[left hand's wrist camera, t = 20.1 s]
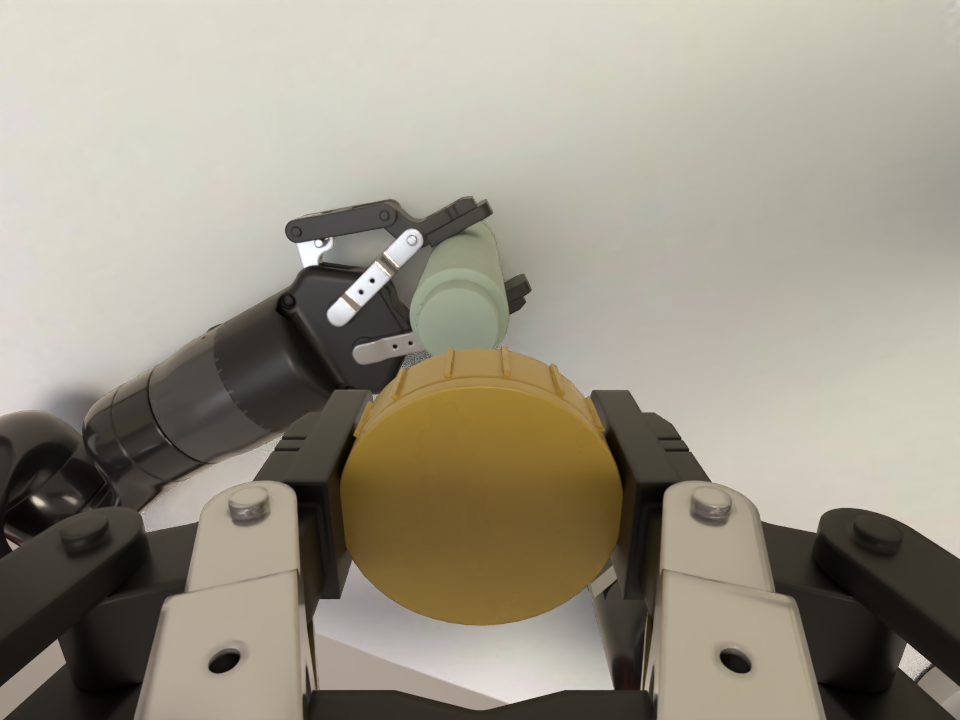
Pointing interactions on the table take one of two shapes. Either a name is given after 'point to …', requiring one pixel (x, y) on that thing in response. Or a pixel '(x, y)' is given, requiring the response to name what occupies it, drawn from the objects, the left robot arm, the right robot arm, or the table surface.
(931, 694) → the bust sculpture
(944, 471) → the table surface
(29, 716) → the left robot arm
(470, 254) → the pale green cylinder
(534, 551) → the lid
